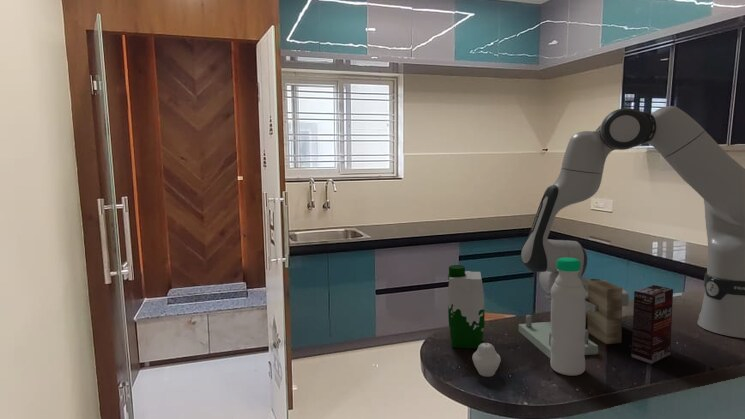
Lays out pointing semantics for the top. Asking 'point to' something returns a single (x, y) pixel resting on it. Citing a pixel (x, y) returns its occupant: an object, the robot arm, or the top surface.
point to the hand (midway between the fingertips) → (606, 308)
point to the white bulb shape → (486, 359)
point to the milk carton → (465, 307)
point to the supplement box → (652, 323)
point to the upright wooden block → (605, 311)
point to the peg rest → (549, 336)
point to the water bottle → (568, 319)
